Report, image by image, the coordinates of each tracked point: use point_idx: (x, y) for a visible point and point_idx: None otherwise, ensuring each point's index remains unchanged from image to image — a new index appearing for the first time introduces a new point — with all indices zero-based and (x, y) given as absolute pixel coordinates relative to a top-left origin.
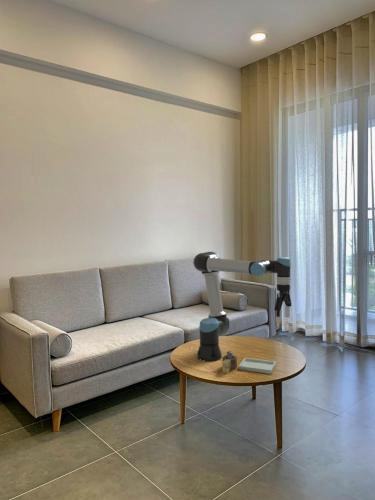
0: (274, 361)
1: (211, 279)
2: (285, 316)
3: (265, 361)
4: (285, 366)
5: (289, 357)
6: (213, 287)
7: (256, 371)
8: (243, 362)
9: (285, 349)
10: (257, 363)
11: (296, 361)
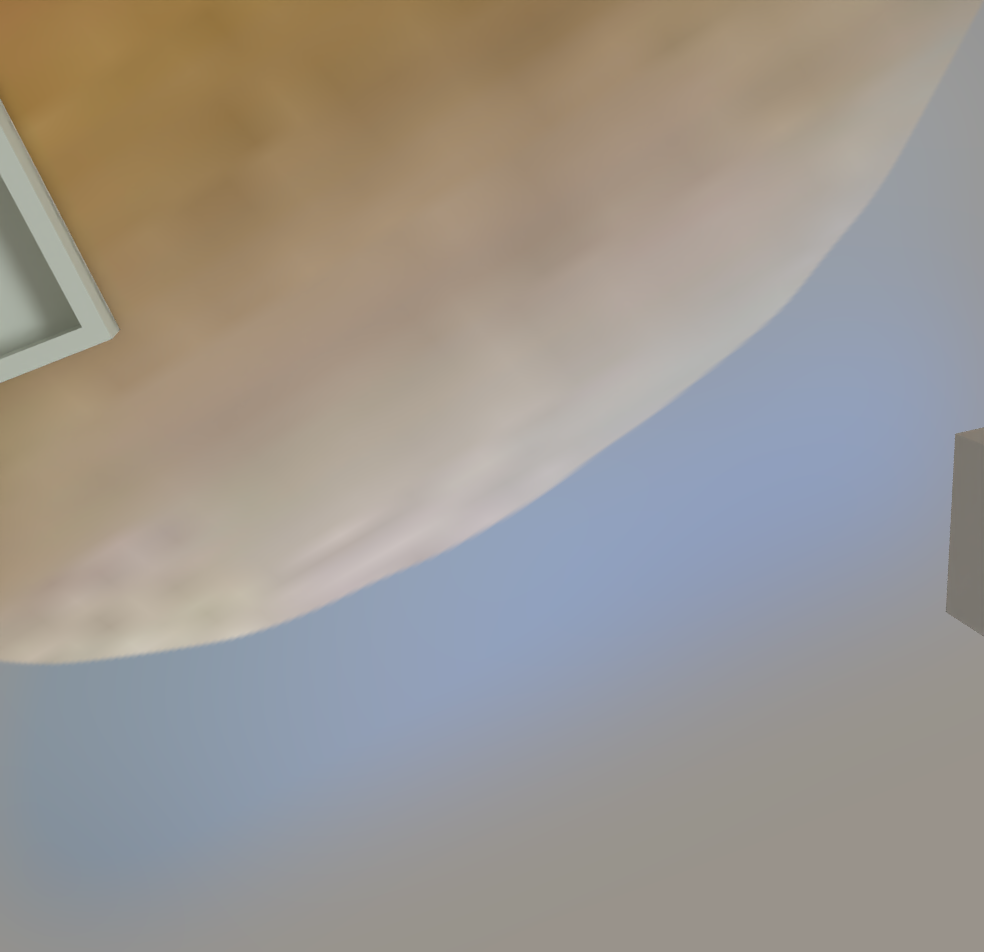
0: (87, 320)
1: None
2: (970, 467)
3: (3, 169)
4: (186, 458)
5: (557, 302)
6: None
7: None
8: None
9: (842, 60)
10: None
11: (474, 461)
